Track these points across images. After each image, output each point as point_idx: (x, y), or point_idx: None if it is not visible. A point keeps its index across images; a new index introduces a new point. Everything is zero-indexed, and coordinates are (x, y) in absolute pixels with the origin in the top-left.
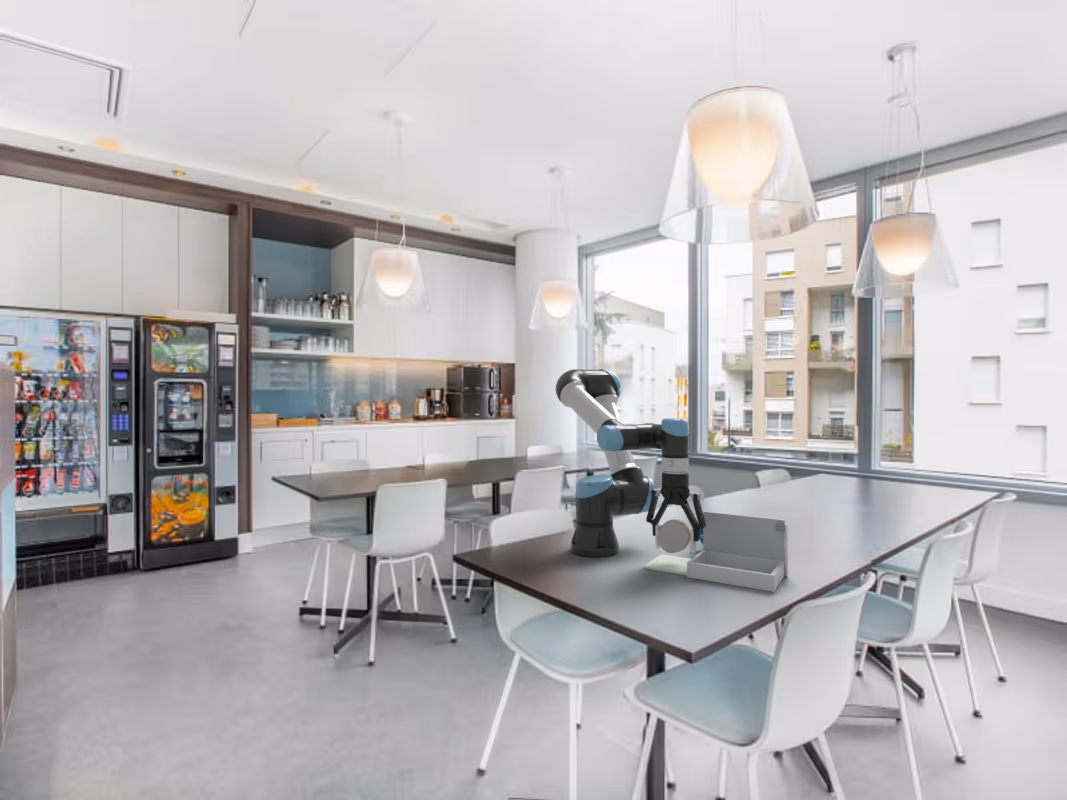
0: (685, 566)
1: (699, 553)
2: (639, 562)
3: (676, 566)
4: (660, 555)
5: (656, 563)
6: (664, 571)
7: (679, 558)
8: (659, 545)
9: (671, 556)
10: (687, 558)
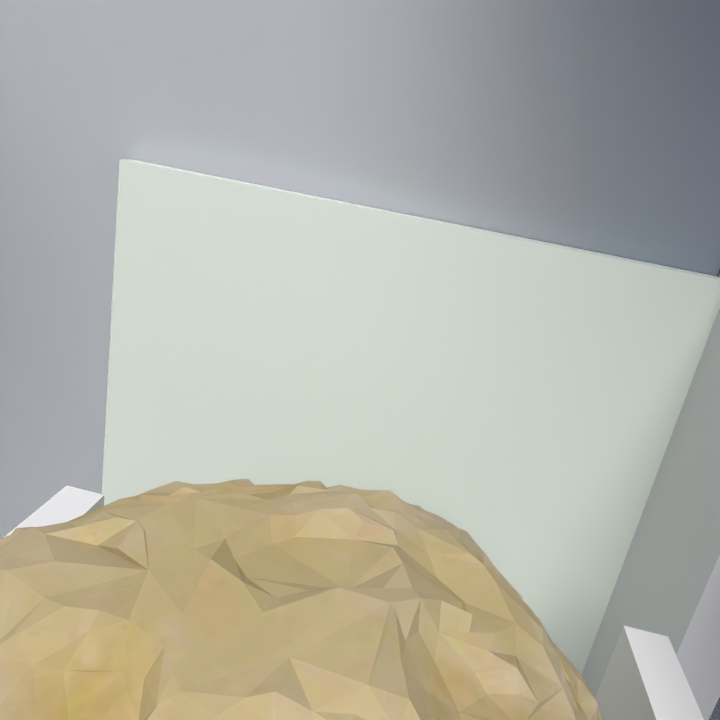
0: None
1: (716, 608)
2: (7, 482)
3: None
4: (130, 224)
5: None
6: None
7: (385, 283)
8: None
9: (269, 219)
10: (491, 248)
